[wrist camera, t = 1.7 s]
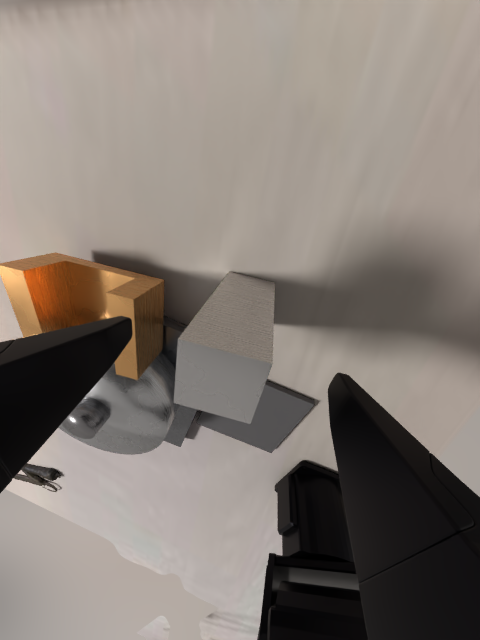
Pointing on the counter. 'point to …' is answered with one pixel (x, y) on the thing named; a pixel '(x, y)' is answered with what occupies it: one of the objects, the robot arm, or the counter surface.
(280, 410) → the mat
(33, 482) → the hacksaw
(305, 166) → the counter surface
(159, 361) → the oval metal lid
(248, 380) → the gray rectangular block
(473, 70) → the counter surface
